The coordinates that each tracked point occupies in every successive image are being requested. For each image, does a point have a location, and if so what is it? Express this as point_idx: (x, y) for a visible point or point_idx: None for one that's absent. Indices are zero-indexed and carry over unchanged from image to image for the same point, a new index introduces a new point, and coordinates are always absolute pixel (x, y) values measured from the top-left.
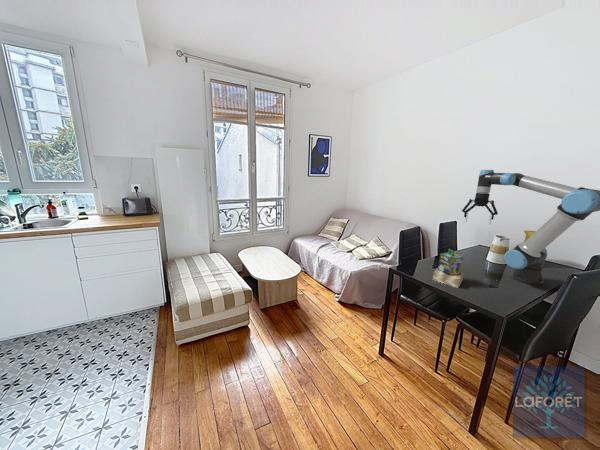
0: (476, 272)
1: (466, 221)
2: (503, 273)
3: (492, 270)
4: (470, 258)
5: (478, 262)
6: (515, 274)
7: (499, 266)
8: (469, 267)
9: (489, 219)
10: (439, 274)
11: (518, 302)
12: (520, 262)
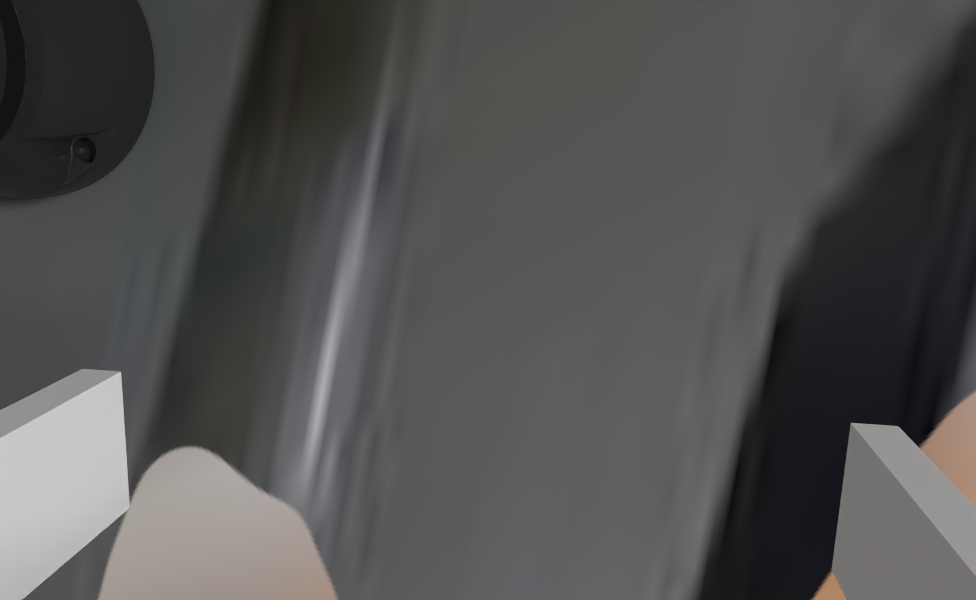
0: (508, 31)
1: (876, 435)
2: (213, 162)
3: (310, 214)
4: (476, 577)
5: (411, 455)
6: (107, 8)
7: (208, 408)
8: (556, 195)
9: (7, 517)
10: None
11: None
12: None
